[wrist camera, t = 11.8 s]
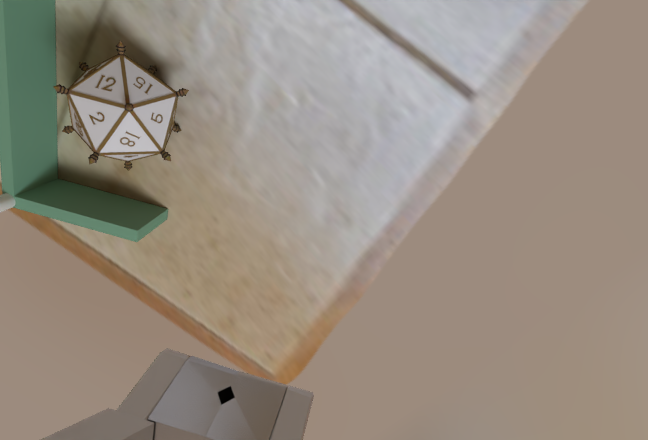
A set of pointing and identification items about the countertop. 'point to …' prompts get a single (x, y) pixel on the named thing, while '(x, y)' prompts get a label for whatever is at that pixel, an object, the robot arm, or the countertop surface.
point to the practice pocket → (48, 133)
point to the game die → (122, 109)
